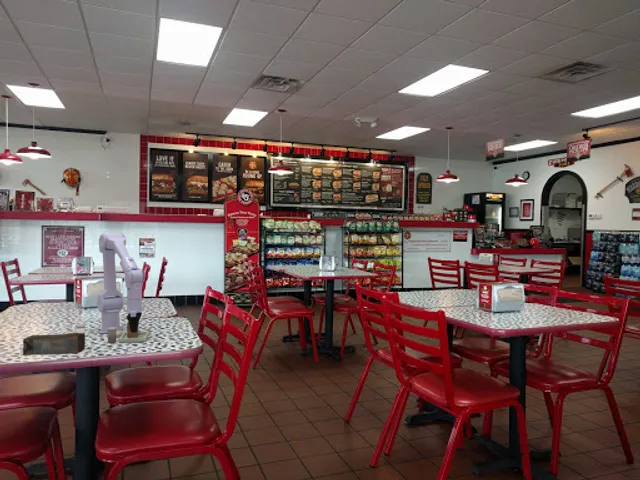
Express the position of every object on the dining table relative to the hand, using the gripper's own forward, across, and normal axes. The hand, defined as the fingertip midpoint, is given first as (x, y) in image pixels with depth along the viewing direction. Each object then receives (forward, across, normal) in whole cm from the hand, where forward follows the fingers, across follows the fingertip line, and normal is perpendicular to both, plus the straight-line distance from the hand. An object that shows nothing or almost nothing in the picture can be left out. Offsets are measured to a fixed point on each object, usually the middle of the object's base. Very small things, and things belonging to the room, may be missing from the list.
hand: (134, 331), depth 195 cm
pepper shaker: (+3, +3, -8) cm, 9 cm away
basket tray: (+3, 0, 0) cm, 3 cm away
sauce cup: (+3, -8, -7) cm, 11 cm away
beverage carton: (+4, +13, -27) cm, 30 cm away
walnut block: (+2, 0, -1) cm, 2 cm away
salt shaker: (+3, -6, -21) cm, 22 cm away
